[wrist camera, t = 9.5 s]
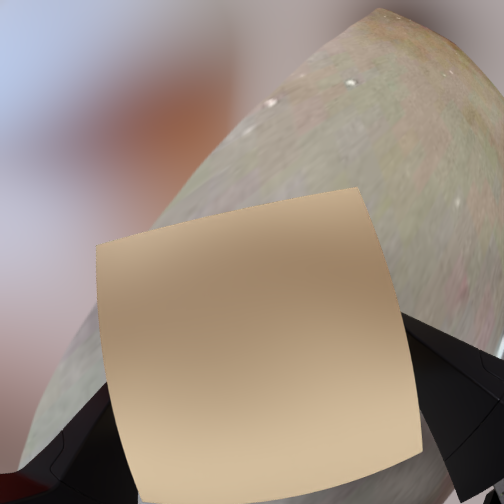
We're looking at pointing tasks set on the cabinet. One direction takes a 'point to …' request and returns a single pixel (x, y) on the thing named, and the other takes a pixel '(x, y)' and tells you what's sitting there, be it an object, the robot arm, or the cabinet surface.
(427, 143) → the cabinet surface
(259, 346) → the pine block
